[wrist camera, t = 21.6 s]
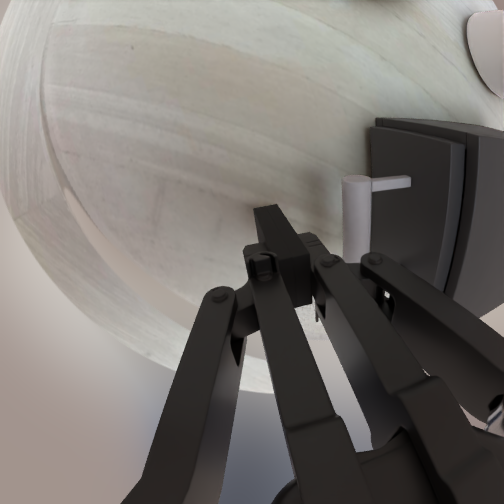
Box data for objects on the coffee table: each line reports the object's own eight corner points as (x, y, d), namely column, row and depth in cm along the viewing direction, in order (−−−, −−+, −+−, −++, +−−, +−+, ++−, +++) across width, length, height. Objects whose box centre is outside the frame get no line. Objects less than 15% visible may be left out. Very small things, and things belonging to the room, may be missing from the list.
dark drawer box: (374, 266, 23) (437, 341, 14) (375, 117, 17) (479, 135, 8) (474, 238, 23) (531, 283, 15) (484, 126, 17) (559, 150, 9)
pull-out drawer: (320, 281, 21) (361, 353, 14) (310, 130, 16) (376, 143, 9) (469, 240, 22) (518, 279, 15) (479, 132, 17) (543, 153, 10)
